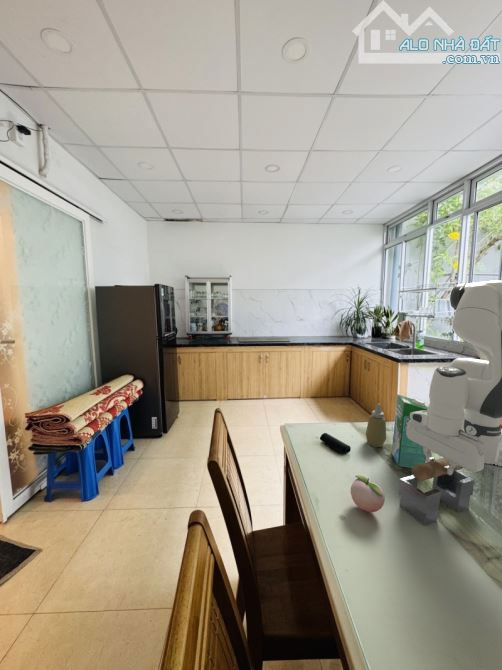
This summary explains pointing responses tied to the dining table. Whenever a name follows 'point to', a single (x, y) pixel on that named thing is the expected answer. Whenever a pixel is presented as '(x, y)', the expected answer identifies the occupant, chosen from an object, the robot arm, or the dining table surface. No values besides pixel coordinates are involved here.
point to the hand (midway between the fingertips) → (438, 467)
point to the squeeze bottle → (376, 428)
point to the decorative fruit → (367, 494)
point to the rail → (431, 469)
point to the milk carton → (403, 447)
